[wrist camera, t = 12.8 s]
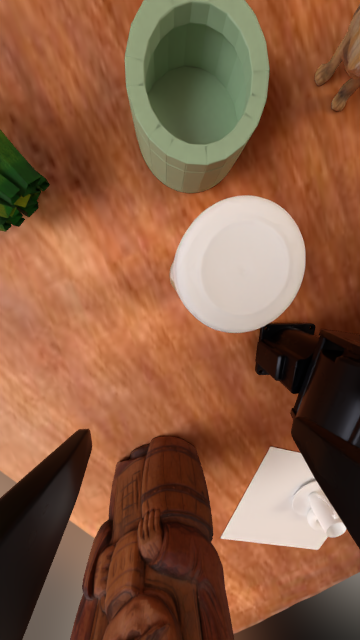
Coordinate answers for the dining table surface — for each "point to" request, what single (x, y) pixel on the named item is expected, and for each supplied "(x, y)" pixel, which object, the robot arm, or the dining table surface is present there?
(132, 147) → the dining table surface
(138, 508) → the wooden figurine
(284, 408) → the dining table surface
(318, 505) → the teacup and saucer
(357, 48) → the lion figurine
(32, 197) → the decorative plant
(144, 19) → the jar
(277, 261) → the sprinkles bottle
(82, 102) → the dining table surface
